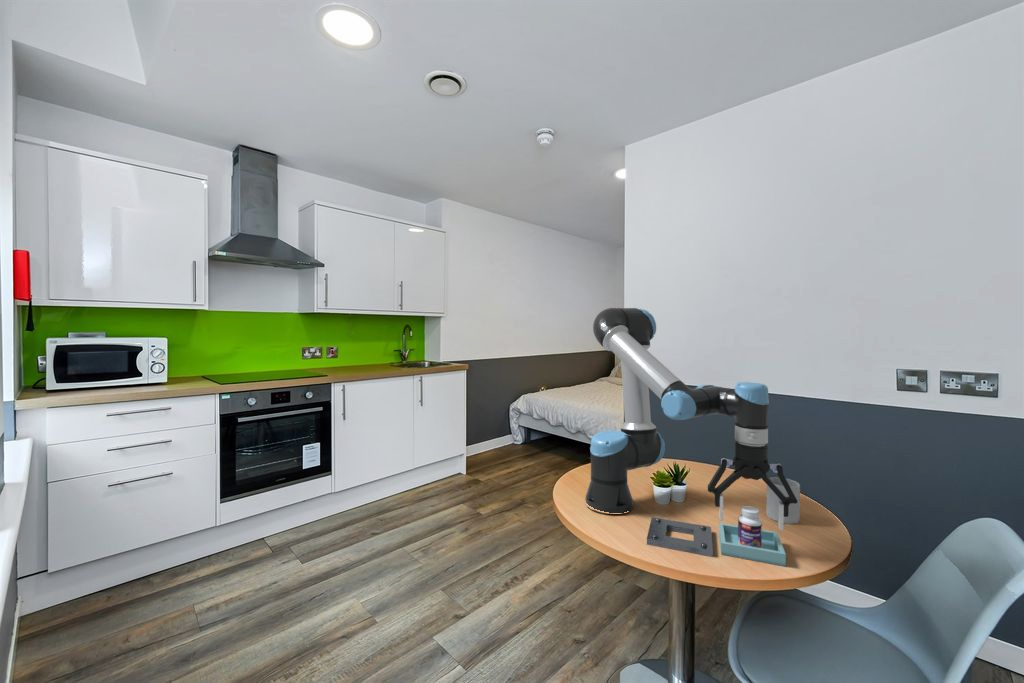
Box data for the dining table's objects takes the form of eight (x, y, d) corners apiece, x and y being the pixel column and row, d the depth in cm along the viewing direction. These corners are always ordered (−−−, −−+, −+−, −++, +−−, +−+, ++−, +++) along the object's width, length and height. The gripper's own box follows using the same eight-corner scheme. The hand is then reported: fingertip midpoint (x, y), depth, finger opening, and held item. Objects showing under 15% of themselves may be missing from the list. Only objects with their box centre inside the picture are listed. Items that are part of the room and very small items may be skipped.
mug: (804, 525, 123) (805, 488, 123) (771, 522, 125) (771, 485, 125) (789, 508, 135) (790, 474, 134) (759, 505, 137) (760, 472, 137)
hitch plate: (646, 544, 113) (646, 536, 113) (651, 521, 126) (651, 515, 126) (712, 556, 107) (712, 549, 107) (711, 532, 120) (711, 525, 120)
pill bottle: (739, 548, 109) (739, 511, 109) (736, 539, 114) (737, 503, 114) (763, 552, 107) (764, 515, 107) (759, 542, 112) (760, 506, 112)
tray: (721, 554, 108) (721, 542, 108) (718, 533, 119) (718, 522, 119) (785, 566, 102) (785, 554, 102) (776, 543, 113) (777, 532, 113)
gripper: (698, 441, 111) (697, 520, 112) (812, 452, 101) (810, 539, 102) (698, 434, 118) (697, 509, 119) (805, 444, 108) (803, 525, 109)
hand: (750, 523), depth 110 cm, fingers open, 13 cm apart
